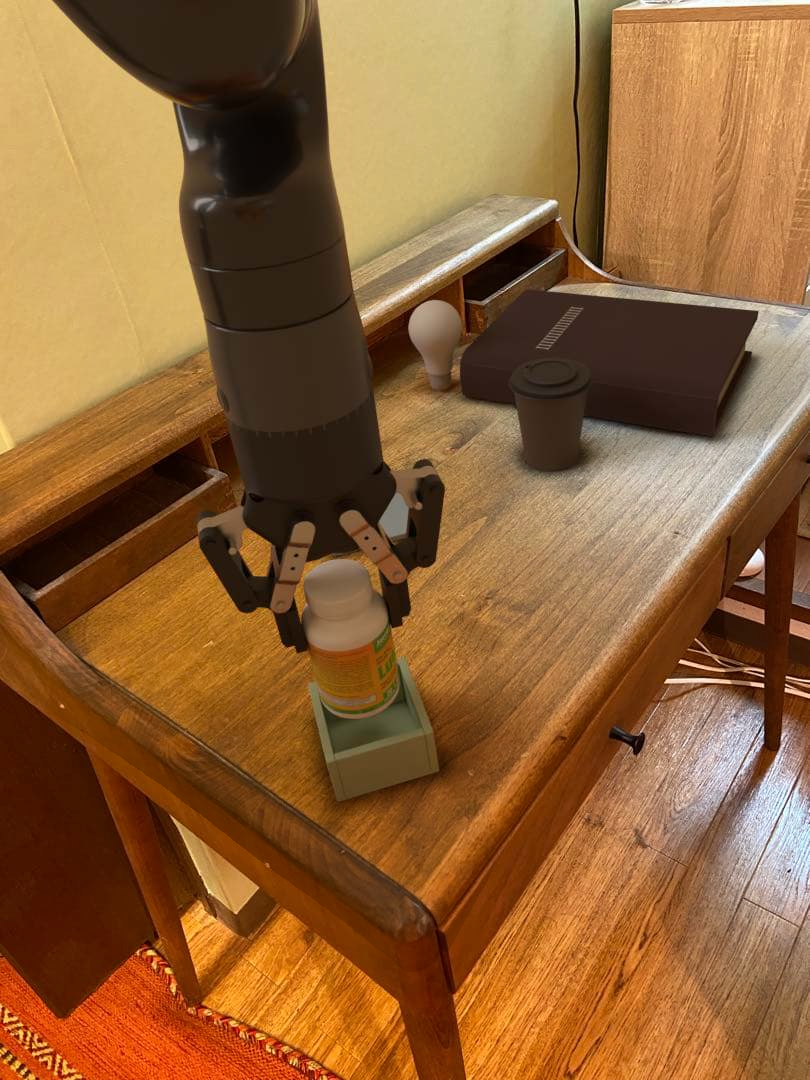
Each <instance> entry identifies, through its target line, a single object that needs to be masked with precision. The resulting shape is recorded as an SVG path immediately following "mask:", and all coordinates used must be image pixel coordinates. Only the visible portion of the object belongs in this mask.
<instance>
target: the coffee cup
mask: <svg viewBox="0 0 810 1080" xmlns="http://www.w3.org/2000/svg"><path fill="white" fill-rule="evenodd" d="M508 381H509V387H510V388H511V390H512V391H513V392H514V394H515V400H516V405H515V406H516V412H517V417H518V424H519V430H520V437H521V442H522V448H523V454H524V461H525V462H526V464H527V465H528V466H529V467H532V469H535V470H538V471H541V472H542V471H543V472H559V471H563V470H566V469H568V468H570V467H572V466H573V465H574V464H576V462H577V460H578V457H579V452H580V451H579V450H580V443H581V438H582V437H581V436H582V431H583V424H584V417H585V416H584V411H585V404H586V397H587V391H588V389H589V388H590V387H591V385H592V383H593V376H592V373H591V372H590V371H589V369H588V368H587V367H586V366H585V365H584V364H582V363H580V362H578V361H575V360H571V359H566V358H542V359H536V360H533V361H529V362H527V363H524V364H522V365H520V366H519V367H517V368H516V369H515V370H514V371H513V373H512V375H511V377H510V378H509V380H508Z"/></svg>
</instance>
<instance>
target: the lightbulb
mask: <svg viewBox="0 0 810 1080" xmlns="http://www.w3.org/2000/svg"><path fill="white" fill-rule="evenodd" d="M462 333H463V322H462V318H461V316H460V313H459V312H458V310H456V308H455V307H454V306H453V305H452V304H450V303H449V302H446V301H444V300H439V299H432V300H428V301H425V302H423V303H421V304H420V305H419V306H417V307H416V308H415V309H414V311H413V312H412V314H411V315H410V318H409V322H408V334H409V338H410V340H411V342H412V344H413V345H414V347H415V348H416V350H417V351H418V352H419V354H420V355H421V358H422V359H423V362H424V365H425V371H426V373H428V378H429V384H430V387H431V389H433V390H436V391H438V392H444V391H446V390H447V389H448V388H450V387H451V385H452V370H453V365H454V364H453V362H454V361H453V359H454V354H455V350H456V349H457V346H458V344H459V342H460V339H461V336H462Z"/></svg>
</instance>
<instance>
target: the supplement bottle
mask: <svg viewBox="0 0 810 1080" xmlns="http://www.w3.org/2000/svg"><path fill="white" fill-rule="evenodd" d="M303 591H304V597H305V602H306V603H305V604H304V607H303V608H302V612H301V615H300V621H301V625H302V630H303V634H304V638H305V642H306V646H307V650H308V651H307V654H308V657H309V661H310V665H311V669H312V673H313V677H314V682H316V685H317V688H318V692H319V695H320V698H321V701H322V703H323V704H324V706H325V707H326V708H327V709H328V710H329V711H330V712H332V713H333V714H335V715H337V716H339V717H343V718H348V719H360V718H366V717H370V716H373V715H375V714H377V713H379V712H381V711H383V710H384V709H386V708H387V707H388V706H389V705H390V704H391V703H392V702H393V700H394V699H395V697H396V695H397V693H398V690H399V684H400V683H399V673H398V667H397V661H396V659H397V654H396V649H395V643H394V639H393V638H394V637H393V633H392V627H391V624H390V619H389V614H388V609H387V605H386V602H385V600H384V598H383V595H382V593H380V592H379V591H378V590H377V589H375V588H374V587H373V584H372V580H371V575H370V571H369V570H368V568H367V567H366V566H365V565H364V564H363V563H361V562H359V561H356V560H353V559H350V558H349V559H348V558H336V559H331V560H327V561H324V562H321V563H320V564H318V565H316V566H314V567H313V568H311V570H310V571H309V572H308V573H307V574H306V575H305V578H304V580H303Z"/></svg>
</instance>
